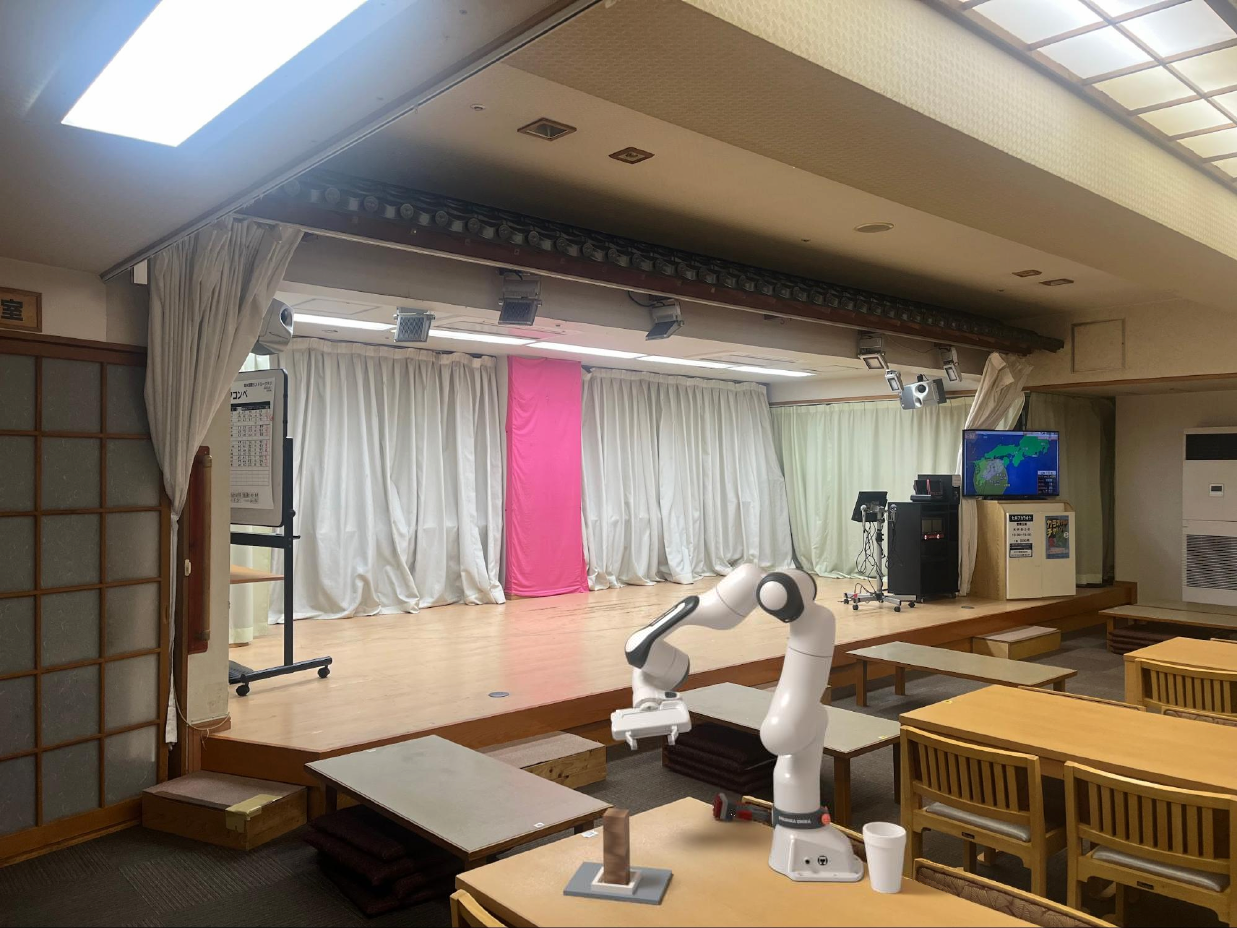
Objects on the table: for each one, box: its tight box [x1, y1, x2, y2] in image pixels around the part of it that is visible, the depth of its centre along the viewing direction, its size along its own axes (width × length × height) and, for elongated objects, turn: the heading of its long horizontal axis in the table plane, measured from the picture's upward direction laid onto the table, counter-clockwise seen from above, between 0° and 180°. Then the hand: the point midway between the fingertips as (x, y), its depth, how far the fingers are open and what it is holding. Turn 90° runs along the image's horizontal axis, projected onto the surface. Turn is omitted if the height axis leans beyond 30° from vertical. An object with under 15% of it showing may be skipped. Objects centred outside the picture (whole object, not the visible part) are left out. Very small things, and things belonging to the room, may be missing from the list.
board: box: [562, 861, 673, 906], centre depth 199 cm, size 22×16×1 cm
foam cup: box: [862, 821, 907, 895], centre depth 196 cm, size 10×9×13 cm
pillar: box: [602, 807, 631, 886], centre depth 197 cm, size 5×5×16 cm
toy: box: [712, 792, 771, 823], centre depth 240 cm, size 9×6×15 cm
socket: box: [591, 867, 641, 895], centre depth 197 cm, size 10×10×2 cm
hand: (652, 745), depth 211 cm, fingers open, 8 cm apart
